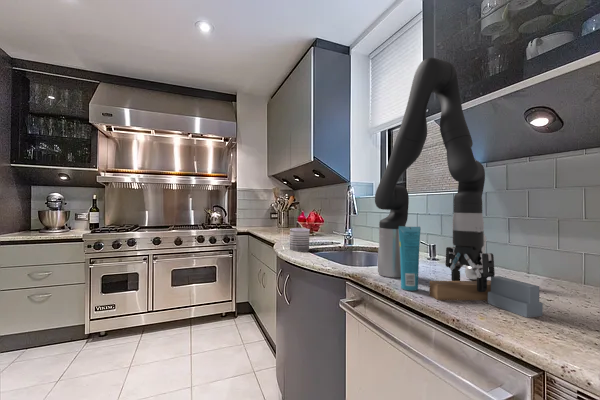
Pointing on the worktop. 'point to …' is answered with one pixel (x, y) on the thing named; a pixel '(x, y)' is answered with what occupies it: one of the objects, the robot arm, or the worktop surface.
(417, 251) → the tube
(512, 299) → the ridge
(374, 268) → the worktop surface
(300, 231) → the can
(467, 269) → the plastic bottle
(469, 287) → the walnut bar
